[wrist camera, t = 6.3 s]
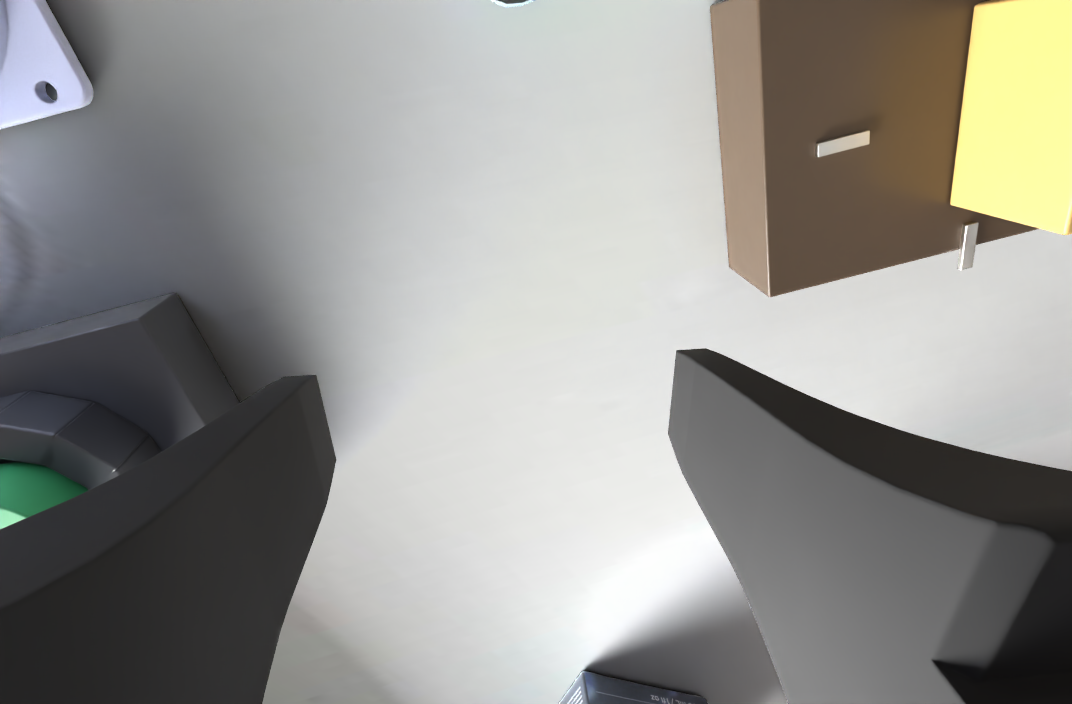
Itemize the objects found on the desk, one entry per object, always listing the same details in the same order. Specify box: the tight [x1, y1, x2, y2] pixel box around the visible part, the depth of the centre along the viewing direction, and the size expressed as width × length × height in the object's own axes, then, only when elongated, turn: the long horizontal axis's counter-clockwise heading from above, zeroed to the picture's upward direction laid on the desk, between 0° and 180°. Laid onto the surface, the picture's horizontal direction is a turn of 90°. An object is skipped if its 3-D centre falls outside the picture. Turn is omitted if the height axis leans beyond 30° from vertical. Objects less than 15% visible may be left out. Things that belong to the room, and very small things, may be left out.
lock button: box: [0, 462, 89, 529], centre depth 16 cm, size 4×4×2 cm
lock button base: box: [0, 293, 240, 490], centre depth 18 cm, size 10×9×4 cm
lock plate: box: [710, 0, 1040, 297], centre depth 16 cm, size 12×9×3 cm
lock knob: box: [950, 0, 1072, 235], centre depth 13 cm, size 5×1×4 cm, turn 13°
